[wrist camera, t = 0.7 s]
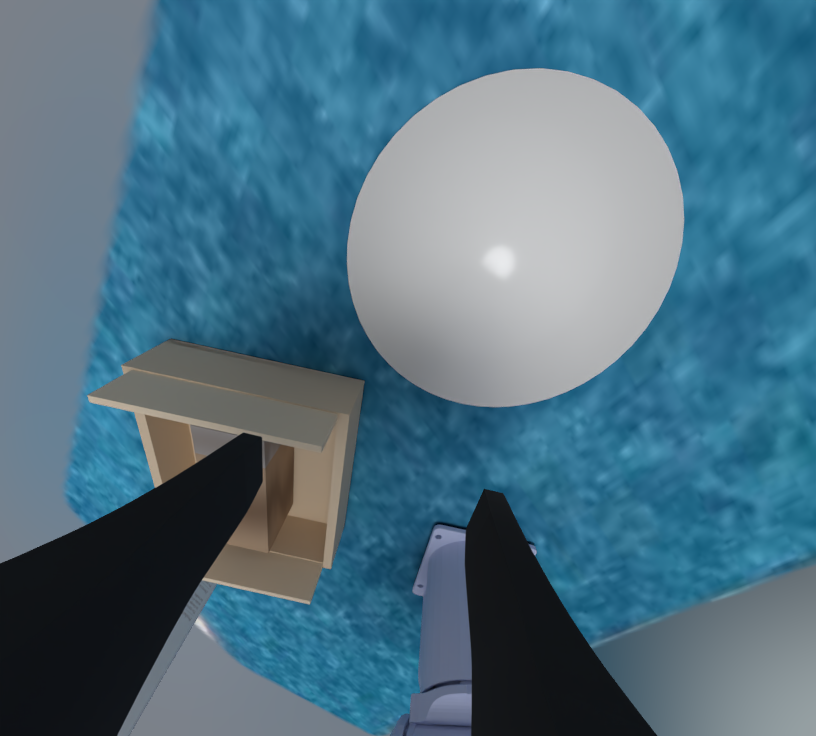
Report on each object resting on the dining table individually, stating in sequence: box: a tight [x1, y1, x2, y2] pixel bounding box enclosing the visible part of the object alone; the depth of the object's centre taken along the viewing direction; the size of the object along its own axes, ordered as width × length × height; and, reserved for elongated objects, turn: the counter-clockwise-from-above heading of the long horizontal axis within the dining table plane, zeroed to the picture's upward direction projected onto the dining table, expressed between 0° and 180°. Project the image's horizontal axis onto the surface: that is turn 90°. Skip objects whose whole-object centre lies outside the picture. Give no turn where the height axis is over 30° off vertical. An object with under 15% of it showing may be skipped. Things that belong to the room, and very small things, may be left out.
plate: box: [347, 68, 684, 407], centre depth 16 cm, size 15×15×1 cm
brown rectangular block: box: [190, 425, 294, 553], centre depth 22 cm, size 10×4×4 cm, turn 170°
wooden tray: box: [87, 339, 365, 604], centre depth 21 cm, size 14×12×6 cm
